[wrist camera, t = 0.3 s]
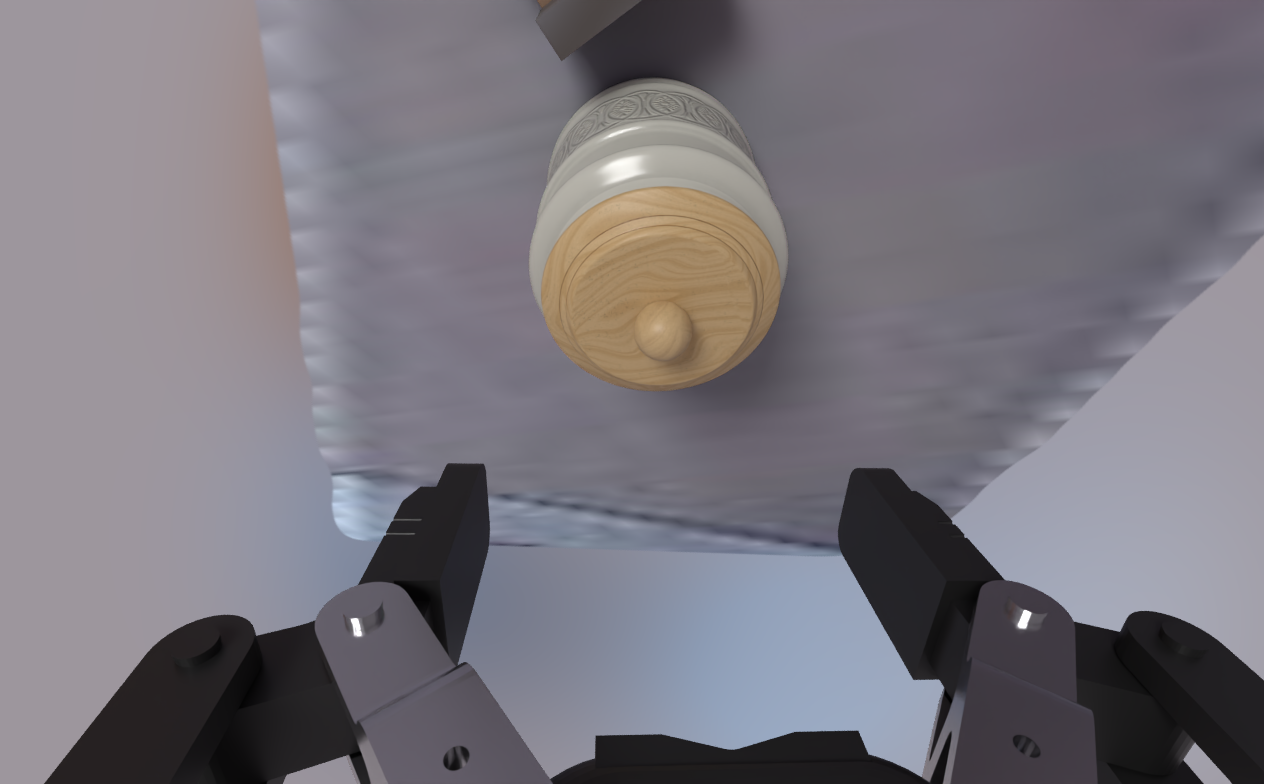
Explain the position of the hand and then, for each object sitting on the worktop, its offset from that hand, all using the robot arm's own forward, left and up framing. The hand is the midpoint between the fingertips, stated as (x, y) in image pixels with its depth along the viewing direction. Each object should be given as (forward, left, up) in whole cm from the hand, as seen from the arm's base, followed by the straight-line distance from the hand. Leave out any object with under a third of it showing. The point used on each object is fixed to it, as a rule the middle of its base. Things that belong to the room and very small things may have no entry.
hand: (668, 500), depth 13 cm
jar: (+5, -2, -30) cm, 30 cm away
